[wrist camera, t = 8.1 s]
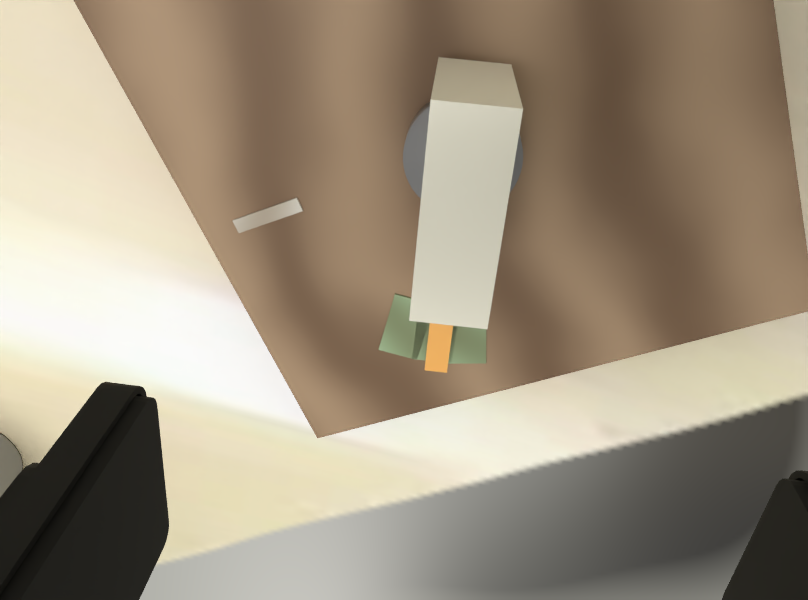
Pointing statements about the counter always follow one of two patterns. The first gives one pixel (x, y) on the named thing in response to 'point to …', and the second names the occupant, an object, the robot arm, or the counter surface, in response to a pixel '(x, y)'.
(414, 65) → the dial board
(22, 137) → the counter surface
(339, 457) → the counter surface
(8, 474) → the cup
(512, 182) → the knob
